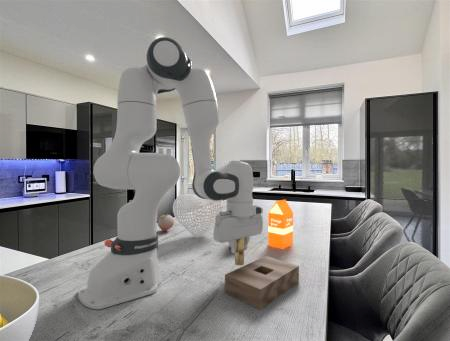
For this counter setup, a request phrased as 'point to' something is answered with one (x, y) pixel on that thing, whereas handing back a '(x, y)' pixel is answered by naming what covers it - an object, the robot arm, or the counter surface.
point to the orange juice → (280, 225)
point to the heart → (188, 195)
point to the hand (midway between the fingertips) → (239, 251)
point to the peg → (239, 252)
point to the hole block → (261, 281)
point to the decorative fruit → (165, 222)
